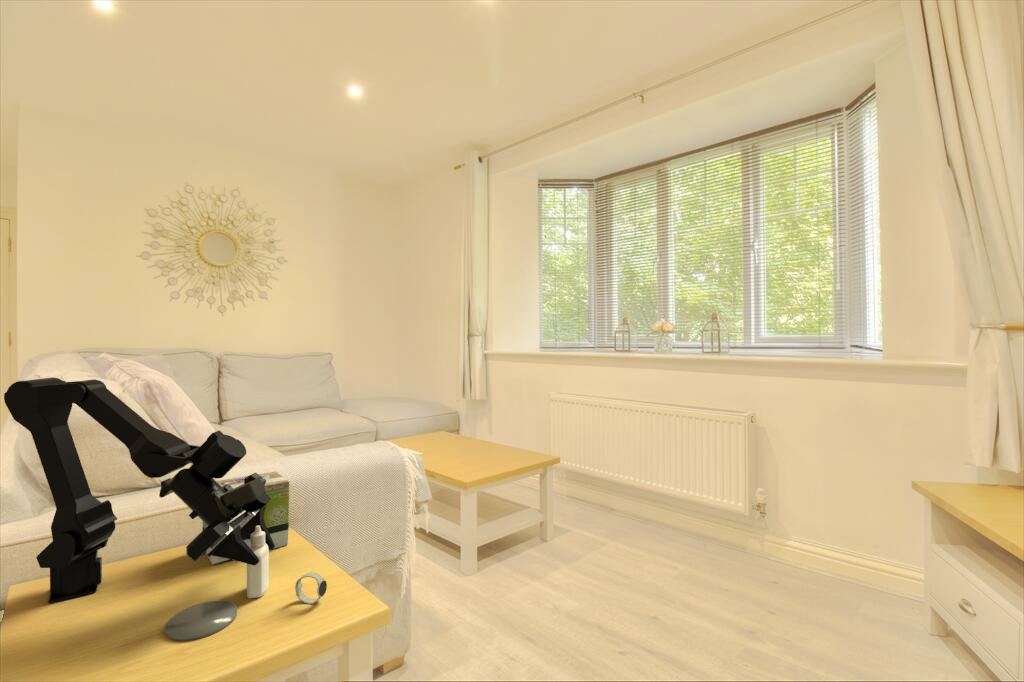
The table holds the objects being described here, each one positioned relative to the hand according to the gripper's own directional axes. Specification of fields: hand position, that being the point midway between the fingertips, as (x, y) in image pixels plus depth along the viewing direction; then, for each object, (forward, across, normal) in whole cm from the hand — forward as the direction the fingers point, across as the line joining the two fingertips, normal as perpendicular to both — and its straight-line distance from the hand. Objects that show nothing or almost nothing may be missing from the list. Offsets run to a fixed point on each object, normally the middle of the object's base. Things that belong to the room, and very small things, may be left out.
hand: (265, 555), depth 90 cm
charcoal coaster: (0, -9, +9) cm, 13 cm away
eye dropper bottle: (+4, 0, +6) cm, 7 cm away
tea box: (-4, +18, +14) cm, 23 cm away
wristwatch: (+12, -3, -2) cm, 12 cm away
